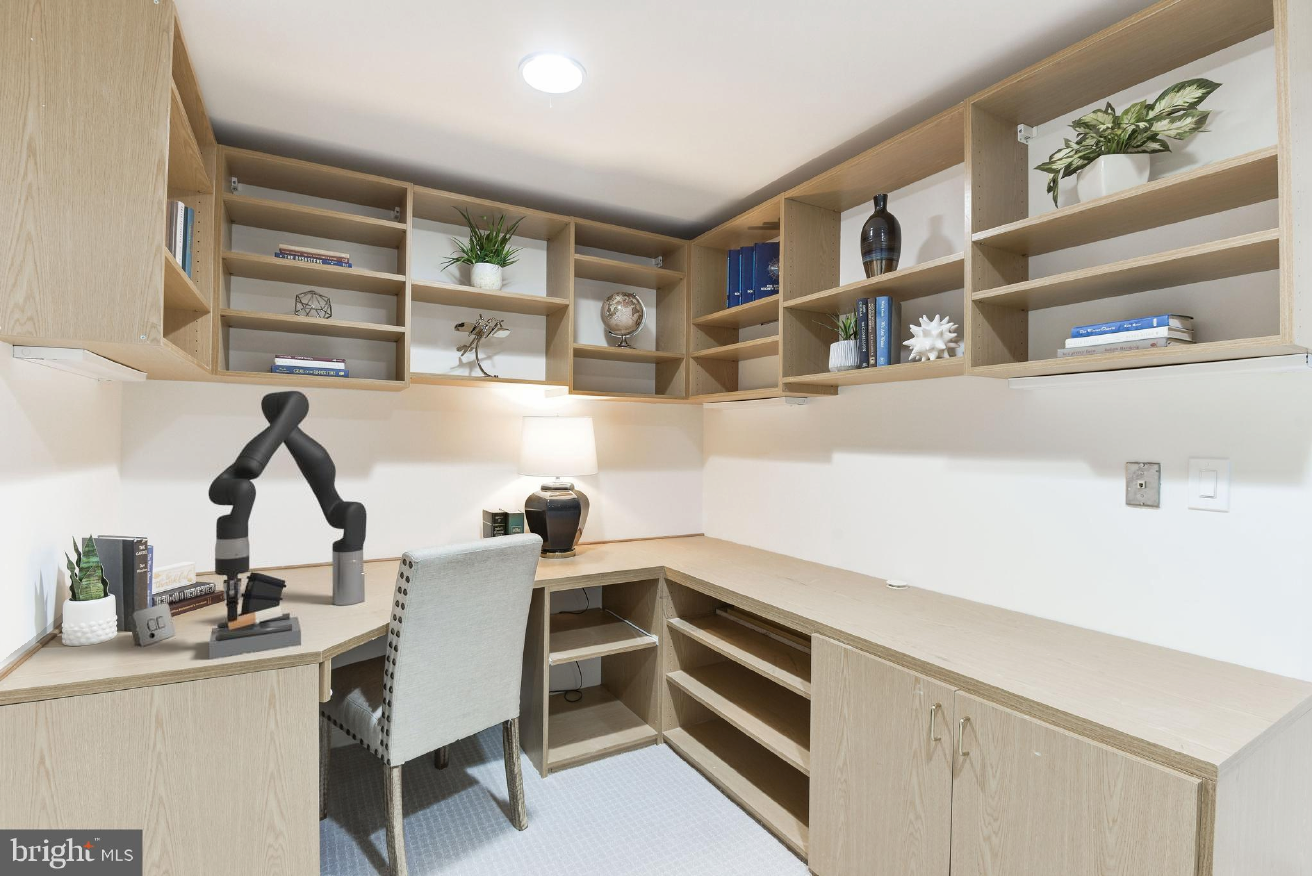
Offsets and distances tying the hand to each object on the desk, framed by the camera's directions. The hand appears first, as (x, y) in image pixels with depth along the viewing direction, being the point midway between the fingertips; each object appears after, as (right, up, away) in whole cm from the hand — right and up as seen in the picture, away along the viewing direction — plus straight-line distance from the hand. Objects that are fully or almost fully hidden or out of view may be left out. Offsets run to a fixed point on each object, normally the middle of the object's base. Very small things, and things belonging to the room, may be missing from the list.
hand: (232, 620), depth 168 cm
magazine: (-6, -7, +23) cm, 25 cm away
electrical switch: (-25, -7, +5) cm, 27 cm away
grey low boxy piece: (+4, -7, +3) cm, 9 cm away
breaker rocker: (+4, -1, +3) cm, 5 cm away
